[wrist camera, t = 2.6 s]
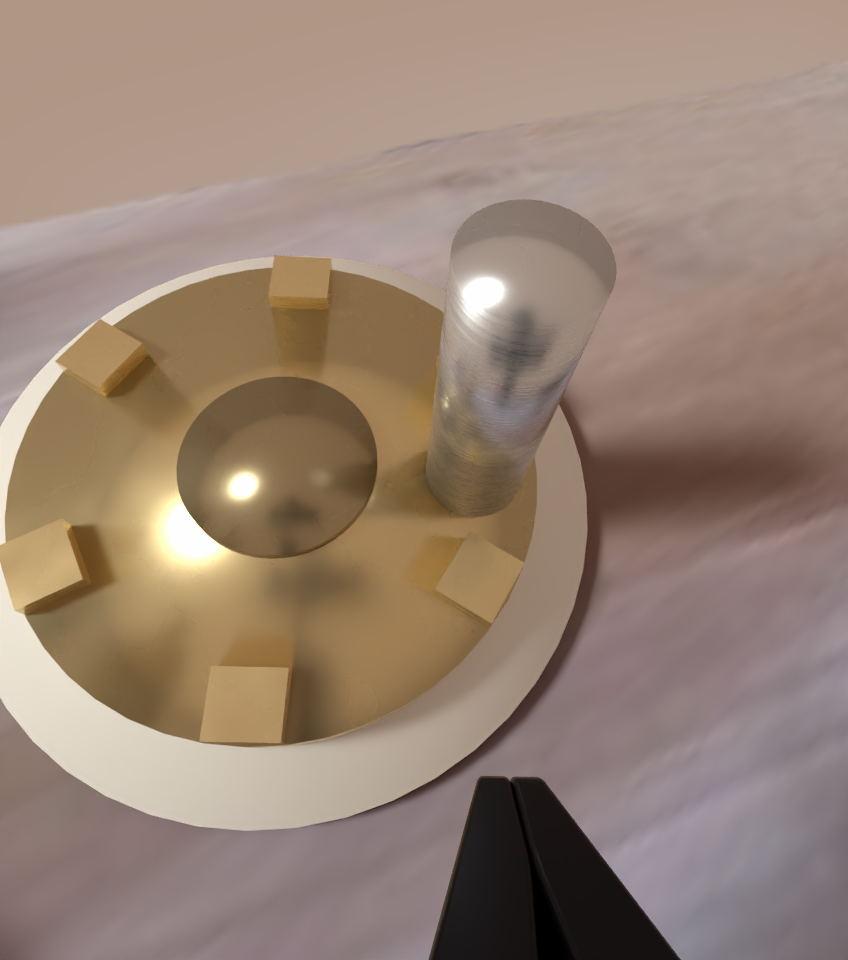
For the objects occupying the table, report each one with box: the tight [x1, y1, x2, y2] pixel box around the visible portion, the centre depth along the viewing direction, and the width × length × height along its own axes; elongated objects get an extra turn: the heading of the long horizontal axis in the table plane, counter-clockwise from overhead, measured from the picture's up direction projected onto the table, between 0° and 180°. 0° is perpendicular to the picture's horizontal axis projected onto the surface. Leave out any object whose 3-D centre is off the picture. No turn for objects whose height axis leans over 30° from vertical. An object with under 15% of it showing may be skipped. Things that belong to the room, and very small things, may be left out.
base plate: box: [0, 256, 587, 831], centre depth 21 cm, size 20×20×1 cm
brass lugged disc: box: [0, 200, 616, 748], centre depth 16 cm, size 16×16×10 cm
